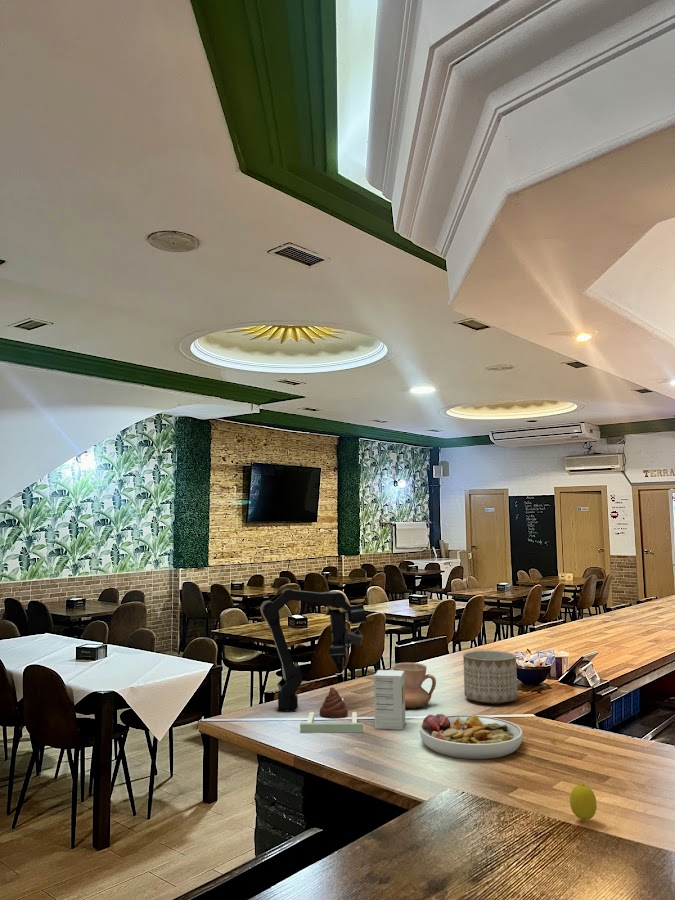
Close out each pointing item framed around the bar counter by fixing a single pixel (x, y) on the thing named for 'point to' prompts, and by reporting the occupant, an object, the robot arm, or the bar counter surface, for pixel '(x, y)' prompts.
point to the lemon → (583, 802)
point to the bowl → (470, 736)
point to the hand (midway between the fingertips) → (342, 669)
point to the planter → (490, 676)
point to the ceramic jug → (415, 684)
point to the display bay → (330, 726)
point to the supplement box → (389, 699)
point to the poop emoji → (333, 705)
